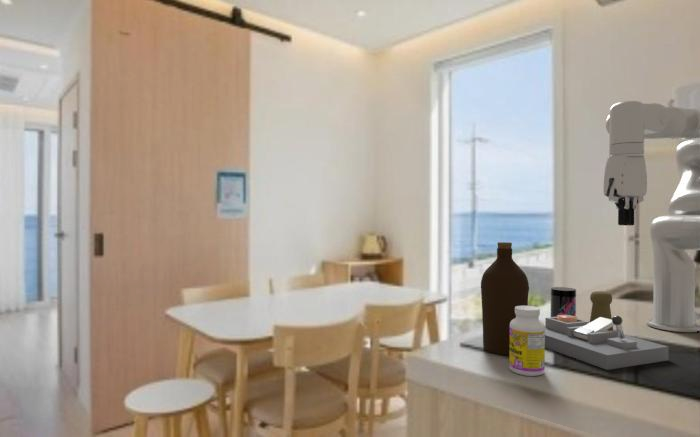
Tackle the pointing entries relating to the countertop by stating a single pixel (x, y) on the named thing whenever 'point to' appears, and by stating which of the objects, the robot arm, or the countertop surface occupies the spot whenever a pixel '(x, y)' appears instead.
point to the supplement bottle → (527, 342)
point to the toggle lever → (618, 326)
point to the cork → (601, 306)
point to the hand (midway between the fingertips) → (626, 225)
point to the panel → (601, 346)
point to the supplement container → (563, 301)
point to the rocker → (593, 327)
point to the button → (567, 318)
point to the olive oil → (501, 299)
